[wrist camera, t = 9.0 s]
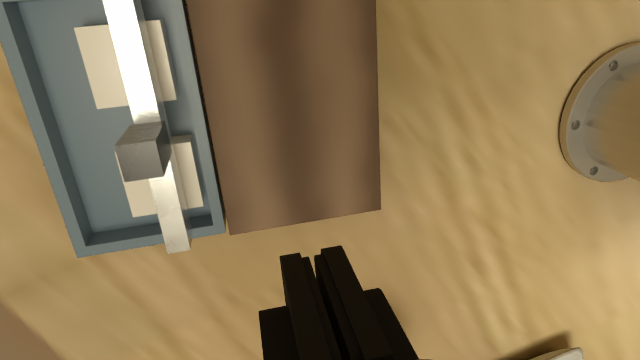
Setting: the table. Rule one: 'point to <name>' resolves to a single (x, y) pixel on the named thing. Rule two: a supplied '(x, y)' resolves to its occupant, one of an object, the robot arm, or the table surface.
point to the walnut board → (290, 107)
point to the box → (100, 121)
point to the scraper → (147, 124)
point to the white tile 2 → (189, 175)
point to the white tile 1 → (106, 67)
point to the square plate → (562, 355)
